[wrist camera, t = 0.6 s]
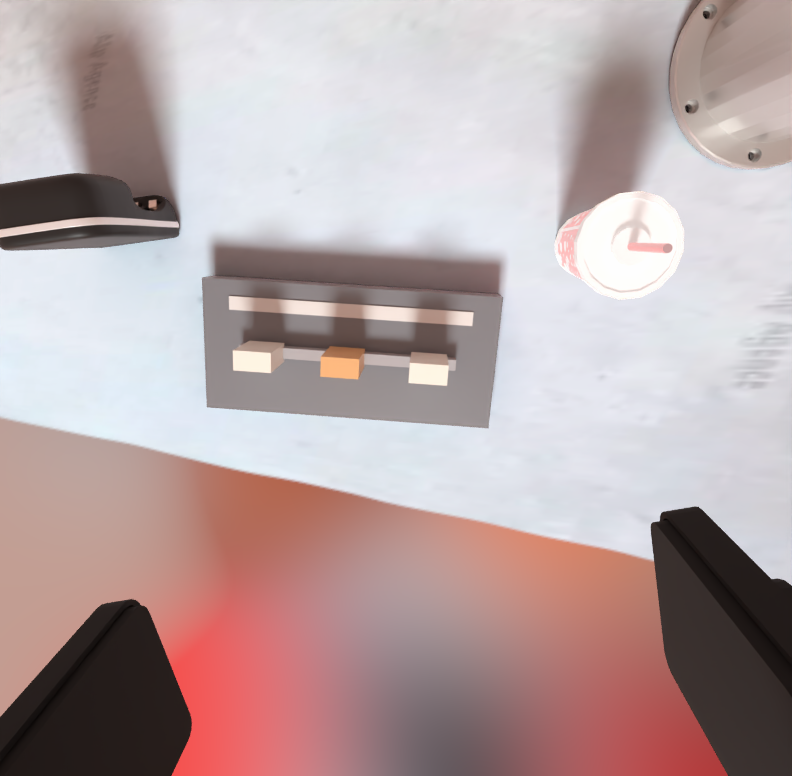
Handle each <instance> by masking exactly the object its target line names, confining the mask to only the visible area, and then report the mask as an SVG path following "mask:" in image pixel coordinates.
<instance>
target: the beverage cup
mask: <svg viewBox="0 0 792 776" xmlns="http://www.w3.org/2000/svg"><path fill="white" fill-rule="evenodd" d="M683 251H684V228H683V226H682V223H681V221H680V218H679V216H678V214H677V211H676V210H675V209H674V208H673V207H672V206H671V205H670V204H668V203H667V202H666V201H665V200H664V199H663V198H662V197H660V196H657V195H653V194H650V193H647V192H644V191H635V192H626V193H619V194H616V195H614V196H612V197H610V198H608V199H606V200H605V201H603V202H601V203H599V204H597V205H596V206H595V207H594V208H592V209H590V210H587V211H585V212H582V213H579V214H578V215H576V216H574V217H572V218H570V219H568V220H567V221H566V222H565V224H564V225H563V226H562V227H561V228H560V229H559V232H558V234H557V237H556V240H555V255H556V257H557V259H558V262H559V264H560V266H562V267H563V268H564V269H565V270H566V271H567V272H569V273H570V274H572V275H574V276H576V277H578V278H580V279H582V280H583V281H584V282H585V283H587V284H588V285H589V286H590V287H591V288H592V289H594V290H595V291H596V292H598V293H599V294H602V295H605V296H609V297H612V298H616V299H619V300H622V299H632V298H641V297H643V296H645V295H646V294H648V293H650V292H652V291H654V290H656V289H658V288H660V287H661V286H662V285H663V284H664V283H665V282H666V281H667V280H668V278H669V277H670V276H671V275H672V274H673V273H674V272H675V270H676V268H677V266H678V263H679V261H680V259H681V256H682V254H683Z"/></svg>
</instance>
